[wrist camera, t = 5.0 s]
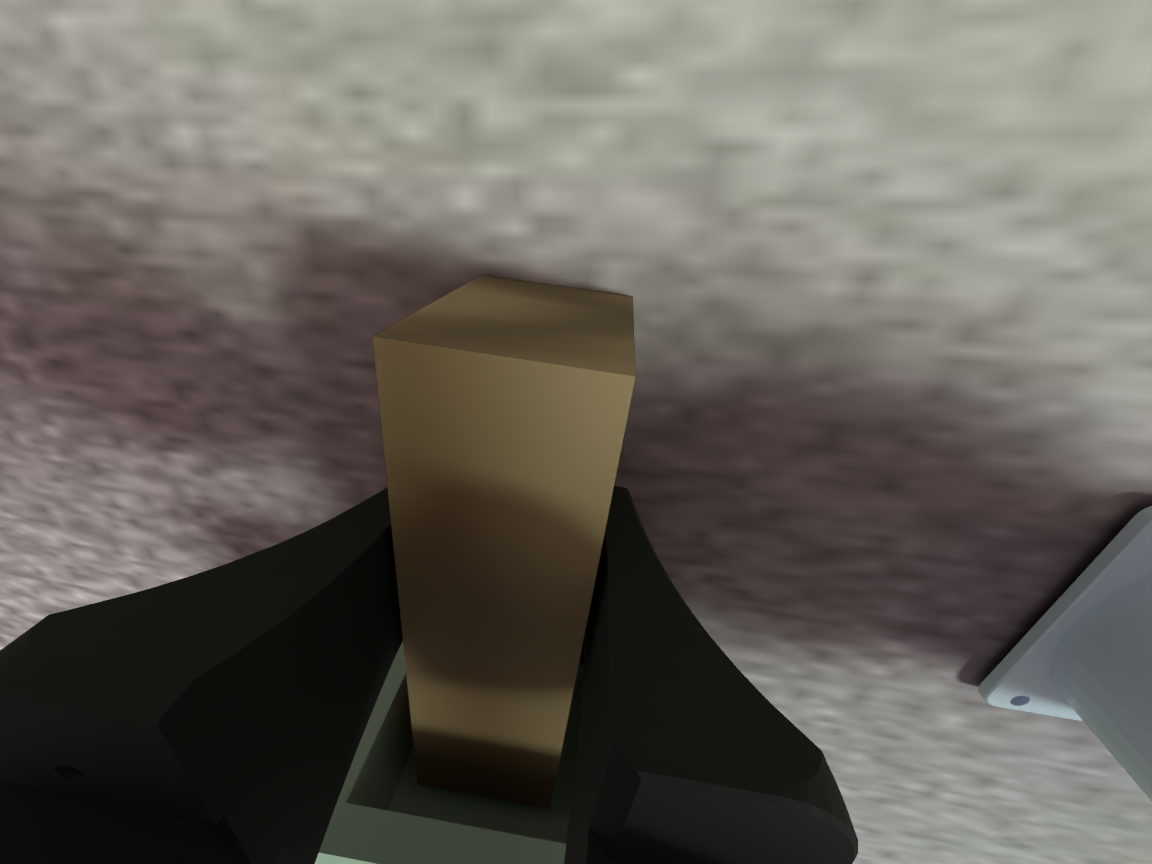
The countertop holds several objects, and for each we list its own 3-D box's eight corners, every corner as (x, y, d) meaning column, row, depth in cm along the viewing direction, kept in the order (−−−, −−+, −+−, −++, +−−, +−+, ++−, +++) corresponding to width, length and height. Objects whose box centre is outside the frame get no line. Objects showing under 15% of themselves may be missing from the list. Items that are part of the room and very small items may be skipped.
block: (649, 605, 14) (664, 918, 8) (623, 696, 17) (619, 991, 11) (407, 565, 15) (246, 838, 9) (415, 660, 17) (294, 927, 11)
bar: (632, 296, 10) (635, 377, 6) (571, 639, 16) (549, 809, 12) (481, 274, 10) (372, 336, 6) (475, 622, 16) (417, 784, 12)
